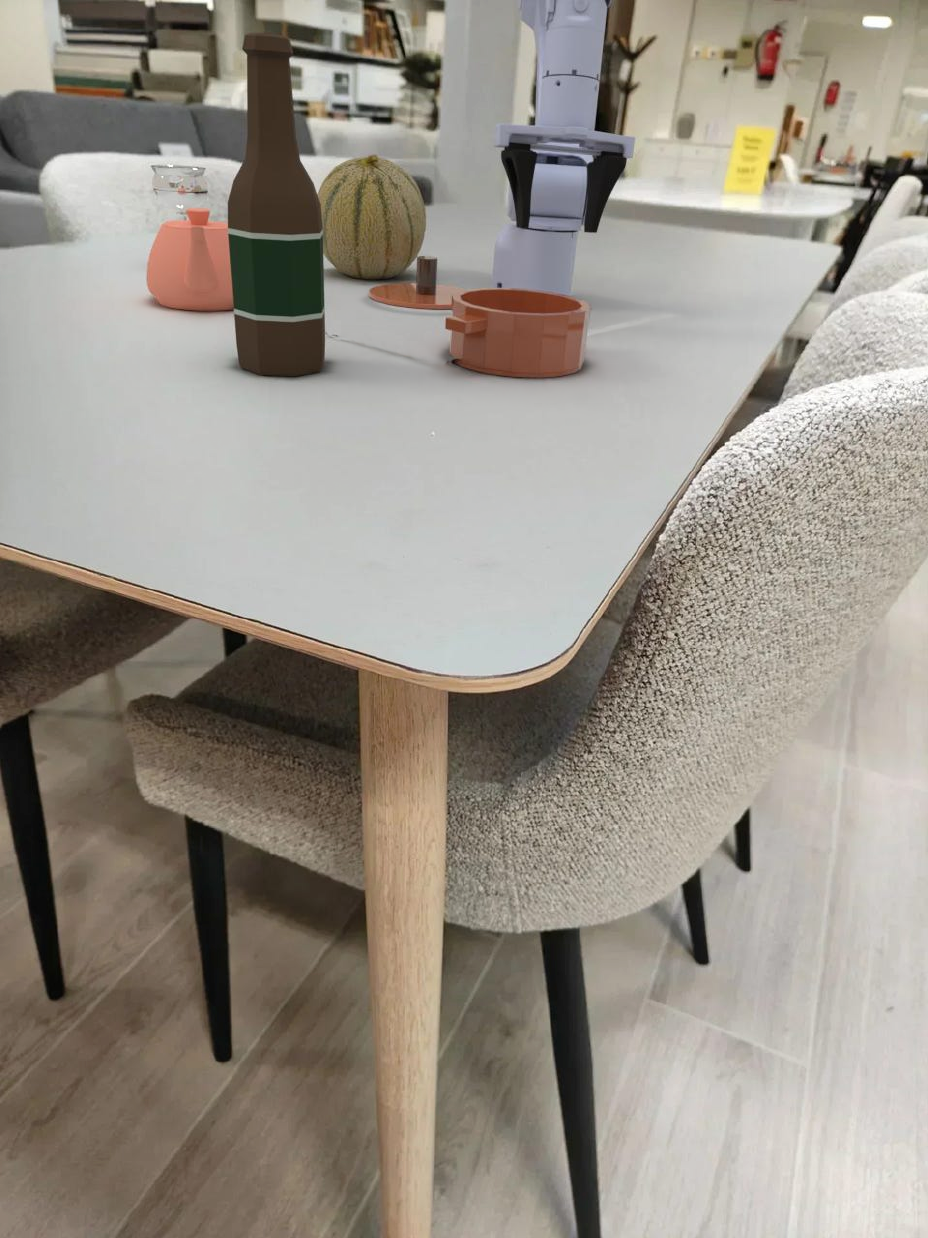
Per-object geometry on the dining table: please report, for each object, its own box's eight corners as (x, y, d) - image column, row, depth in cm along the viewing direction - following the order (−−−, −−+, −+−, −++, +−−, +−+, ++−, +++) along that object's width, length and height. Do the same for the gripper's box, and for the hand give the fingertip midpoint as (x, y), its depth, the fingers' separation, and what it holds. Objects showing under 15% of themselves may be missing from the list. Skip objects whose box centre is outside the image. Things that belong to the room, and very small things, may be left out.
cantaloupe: (394, 269, 124) (396, 150, 116) (444, 287, 113) (450, 159, 105) (297, 271, 117) (292, 146, 109) (340, 292, 106) (338, 154, 99)
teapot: (259, 289, 105) (254, 202, 100) (263, 321, 90) (257, 221, 85) (155, 286, 102) (144, 198, 97) (140, 319, 87) (127, 216, 82)
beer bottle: (343, 362, 77) (339, 41, 65) (301, 382, 71) (288, 30, 59) (266, 350, 79) (248, 37, 67) (219, 369, 73) (190, 26, 61)
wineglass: (151, 270, 111) (139, 166, 105) (175, 263, 117) (165, 163, 111) (201, 274, 111) (192, 170, 105) (222, 267, 117) (215, 167, 110)
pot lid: (345, 298, 103) (344, 252, 100) (423, 288, 112) (424, 246, 109) (428, 319, 95) (430, 270, 93) (504, 306, 104) (508, 261, 102)
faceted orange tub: (401, 360, 79) (403, 298, 76) (521, 335, 91) (526, 281, 88) (508, 391, 72) (514, 324, 69) (622, 359, 84) (631, 302, 82)
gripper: (512, 65, 80) (501, 225, 86) (654, 82, 84) (635, 234, 89) (492, 77, 87) (483, 225, 92) (625, 92, 90) (609, 234, 95)
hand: (556, 230), depth 91 cm, fingers open, 7 cm apart
